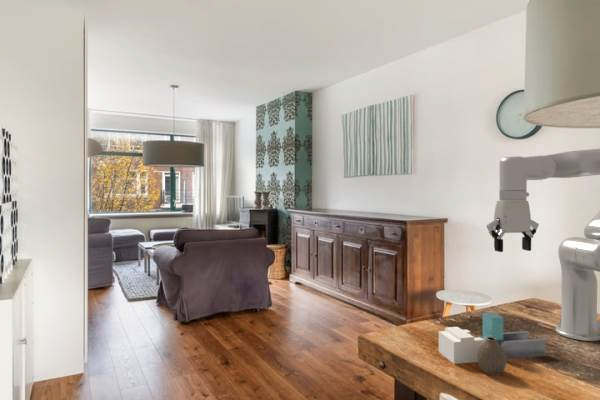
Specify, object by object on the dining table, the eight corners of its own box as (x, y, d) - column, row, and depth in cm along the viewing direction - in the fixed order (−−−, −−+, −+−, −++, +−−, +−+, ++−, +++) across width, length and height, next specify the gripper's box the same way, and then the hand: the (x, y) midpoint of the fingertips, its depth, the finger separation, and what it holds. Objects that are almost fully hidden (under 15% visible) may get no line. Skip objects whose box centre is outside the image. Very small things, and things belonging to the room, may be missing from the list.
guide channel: (526, 345, 122) (526, 330, 122) (546, 355, 114) (546, 340, 114) (484, 348, 120) (484, 333, 120) (501, 359, 112) (501, 343, 112)
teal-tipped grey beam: (494, 346, 119) (494, 312, 118) (503, 352, 114) (504, 317, 114) (450, 349, 116) (450, 315, 116) (458, 355, 112) (458, 320, 112)
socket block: (466, 349, 119) (466, 326, 119) (484, 361, 111) (484, 336, 111) (438, 351, 118) (438, 328, 118) (453, 363, 110) (454, 338, 109)
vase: (472, 366, 108) (472, 334, 108) (496, 365, 109) (497, 333, 108) (485, 378, 101) (485, 344, 101) (512, 377, 102) (512, 343, 101)
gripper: (528, 195, 131) (528, 248, 131) (480, 196, 128) (480, 250, 128) (546, 196, 123) (546, 251, 124) (495, 197, 121) (495, 253, 121)
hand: (512, 250), depth 126 cm, fingers open, 9 cm apart
